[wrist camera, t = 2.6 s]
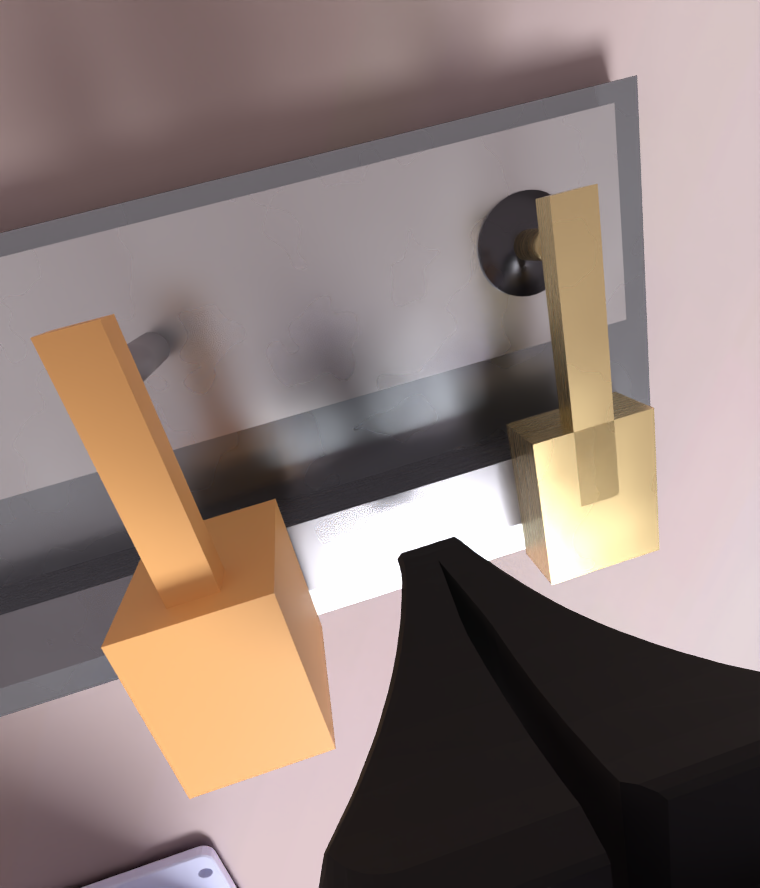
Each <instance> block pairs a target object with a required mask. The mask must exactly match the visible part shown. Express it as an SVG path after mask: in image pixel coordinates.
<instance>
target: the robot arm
mask: <svg viewBox="0 0 760 888" xmlns="http://www.w3.org/2000/svg"><path fill="white" fill-rule="evenodd" d="M397 561H398V564H399V568H400V572H401V581H402V602H401V621H400V629H399V637H398V645H397V652H396V658H395V663H394V668H393V673H392V677H391V682H390V686H389V690H388V694H387V698H386V701H385V705H384V708H383V712H382V715H381V719H380V722H379V725H378V728H377V732H376V735H375V738H374V740H373V743H372V746H371V748H370V751H369V754H368V756H367V759H366V761H365V764H364V767H363V769H362V772H361V774H360V777H359V779H358V782H357V785H356V787H355V789H354V792H353V794H352V796H351V798H350V801H349V803H348V805H347V807H346V809H345V811H344V813H343V815H342V817H341V819H340V821H339V824H338V826H337V828H336V830H335V832H334V834H333V836H332V838H331V840H330V842H329V844H328V847H327V849H326V851H325V853H324V858H323V864H322V870H321V877H320V884H319V888H760V672H758V671H754V670H749V669H744V668H740V667H735V666H731V665H726V664H722V663H718V662H715V661H711V660H708V659H704V658H700V657H697V656H693V655H690V654H686V653H682V652H679V651H676V650H673V649H669V648H666V647H663V646H660V645H657V644H654V643H651V642H648V641H645V640H643V639H640V638H637V637H634V636H631V635H629V634H626V633H623V632H620V631H618V630H615V629H613V628H610V627H608V626H605V625H603V624H600V623H598V622H596V621H594V620H591V619H589V618H587V617H585V616H582V615H580V614H578V613H576V612H574V611H571V610H569V609H567V608H565V607H564V606H562V605H560V604H558V603H556V602H554V601H552V600H550V599H549V598H547V597H545V596H543V595H541V594H540V593H538V592H536V591H534V590H533V589H531V588H529V587H528V586H526V585H524V584H523V583H521V582H520V581H518V580H516V579H515V578H513V577H512V576H510V575H509V574H507V573H505V572H504V571H502V570H501V569H499V568H498V567H496V566H495V565H493V564H492V563H491V562H489V561H488V560H486V559H485V558H484V557H482V556H481V555H479V554H478V553H477V552H475V551H474V550H473V549H471V548H470V547H469V546H467V545H466V544H465V543H463V542H462V541H461V540H460V539H458V538H456V537H451V538H447V539H444V540H441V541H438V542H435V543H431V544H428V545H425V546H422V547H419V548H415V549H412V550H409V551H406V552H403V553H401V554H400V555H399V557H398V558H397ZM81 888H237V887H236V886H235V884H234V882H233V880H232V879H231V877H230V875H229V874H228V872H227V870H226V869H225V867H224V865H223V864H222V862H221V860H220V858H219V857H218V855H217V853H216V852H215V850H214V849H213V848H212V847H209V846H198V847H195V848H192V849H190V850H187V851H184V852H181V853H178V854H175V855H172V856H170V857H167V858H164V859H161V860H158V861H155V862H152V863H150V864H147V865H144V866H141V867H138V868H135V869H132V870H130V871H127V872H124V873H121V874H118V875H115V876H113V877H110V878H107V879H104V880H101V881H98V882H95V883H93V884H90V885H87V886H84V887H81Z"/></svg>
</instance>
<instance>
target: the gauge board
mask: <svg viewBox="0 0 760 888" xmlns="http://www.w3.org/2000/svg"><path fill="white" fill-rule="evenodd" d="M112 314H114V315H115V317H116V320H117V322H118V324H119V327H120V329H121V331H122V334H123V336H124V338H125V341H126V343H127V344H128V343H130V342H131V341H133V340H135V339H136V338H138V337H139V336H141V335H143V334H144V333H148V332H155V333H158V334H160V335H162V336H163V337H164V338H165V339H166V340H167V341H168V343H169V346H170V353H169V356H168V358H167V359H166V360H165V361H164V362H163V363H162V364H161V365H160V366H159V367H158V368H157V369H156V370H155V371H154V372H153V373H152V374H151V375H150V376H149V377H148V378H147V379H146V380H145V381H144V385H145V387H146V389H147V392H148V394H149V396H150V398H151V401H152V403H153V405H154V408H155V410H156V412H157V415H158V417H159V419H160V422H161V424H162V426H163V429H164V431H165V433H166V436H167V438H168V440H169V442H170V445H171V447H172V449H173V452H174V454H175V456H176V459H177V461H178V463H179V466H180V468H181V470H182V473H183V475H184V477H185V479H186V482H187V484H188V486H189V489H190V491H191V493H192V496H193V498H194V500H195V503H196V505H197V507H198V510H199V512H200V514H201V517H202V519H203V520H206V519H210V518H213V517H216V516H220V515H223V514H226V513H230V512H233V511H236V510H240V509H243V508H246V507H250V506H253V505H256V504H259V503H263V502H266V501H269V500H273V499H276V502H277V504H278V507H279V510H280V513H281V515H282V518H283V521H284V524H285V526H286V529H287V532H288V535H289V538H290V540H291V543H292V546H293V549H294V551H295V554H296V557H297V560H298V562H299V565H300V568H301V571H302V573H303V576H304V579H305V582H306V584H307V587H308V590H309V593H310V595H311V598H312V601H313V604H314V606H315V609H316V612H317V615H319V614H323V613H326V612H329V611H332V610H335V609H338V608H341V607H344V606H347V605H351V604H354V603H357V602H360V601H363V600H366V599H369V598H372V597H376V596H379V595H382V594H385V593H388V592H391V591H394V590H397V589H401V588H402V581H401V572H400V568H399V564H398V561H397V558H398V557H399V555H400V554H401V553H403V552H406V551H409V550H412V549H415V548H419V547H422V546H425V545H428V544H431V543H435V542H438V541H441V540H444V539H447V538H451V537H456V538H458V539H460V540H461V541H462V542H463V543H465V544H466V545H467V546H469V547H470V548H471V549H473V550H474V551H475V552H477V553H478V554H479V555H481V556H482V557H484V558H485V559H486V560H491V559H494V558H497V557H500V556H503V555H507V554H510V553H513V552H516V551H519V550H522V549H525V548H526V554H527V555H528V556H529V557H530V558H531V560H532V561H533V562H534V563H535V565H536V566H537V567H538V568H539V570H540V571H541V572H542V573H543V574H544V576H545V577H546V578H547V579H548V581H549V582H550V583H551V584H552V585H553V584H556V583H559V582H562V581H565V580H568V579H571V578H574V577H577V576H580V575H584V574H587V573H590V572H593V571H596V570H599V569H602V568H605V567H608V566H611V565H614V564H617V563H620V562H623V561H626V560H629V559H632V558H635V557H638V556H641V555H645V554H648V553H651V552H654V551H657V550H659V531H658V504H657V477H656V450H655V423H654V408H653V407H651V406H650V388H649V363H648V338H647V313H646V288H645V263H644V238H643V213H642V188H641V163H640V138H639V113H638V88H637V75H636V76H632V77H628V78H624V79H620V80H616V81H612V82H608V83H604V84H600V85H596V86H592V87H588V88H584V89H580V90H576V91H572V92H568V93H564V94H560V95H556V96H552V97H548V98H543V99H539V100H535V101H531V102H527V103H523V104H519V105H515V106H511V107H507V108H503V109H499V110H495V111H491V112H487V113H483V114H479V115H475V116H471V117H467V118H463V119H459V120H455V121H451V122H447V123H443V124H439V125H435V126H430V127H426V128H422V129H418V130H414V131H410V132H406V133H402V134H398V135H394V136H390V137H386V138H382V139H378V140H374V141H370V142H366V143H362V144H358V145H354V146H350V147H346V148H342V149H338V150H334V151H330V152H326V153H322V154H317V155H313V156H309V157H305V158H301V159H297V160H293V161H289V162H285V163H281V164H277V165H273V166H269V167H265V168H261V169H257V170H253V171H249V172H245V173H241V174H237V175H233V176H229V177H225V178H221V179H217V180H213V181H209V182H204V183H200V184H196V185H192V186H188V187H184V188H180V189H176V190H172V191H168V192H164V193H160V194H156V195H152V196H148V197H144V198H140V199H136V200H132V201H128V202H124V203H120V204H116V205H112V206H108V207H104V208H100V209H96V210H91V211H87V212H83V213H79V214H75V215H71V216H67V217H63V218H59V219H55V220H51V221H47V222H43V223H39V224H35V225H31V226H27V227H23V228H19V229H15V230H11V231H7V232H3V233H0V717H1V716H4V715H7V714H11V713H14V712H17V711H20V710H23V709H26V708H29V707H32V706H36V705H39V704H42V703H45V702H48V701H51V700H54V699H57V698H60V697H64V696H67V695H70V694H73V693H76V692H79V691H82V690H85V689H89V688H92V687H95V686H98V685H101V684H104V683H107V682H110V681H114V680H117V679H119V678H118V676H117V674H116V673H115V671H114V669H113V667H112V666H111V664H110V662H109V661H108V659H107V657H106V655H105V654H104V652H103V650H102V649H101V646H102V644H103V642H104V640H105V637H106V635H107V633H108V631H109V628H110V626H111V624H112V622H113V620H114V617H115V615H116V613H117V611H118V608H119V606H120V604H121V602H122V599H123V597H124V595H125V593H126V590H127V588H128V586H129V584H130V581H131V579H132V577H133V575H134V573H135V570H136V568H137V566H138V564H139V561H140V559H141V558H140V556H139V554H138V552H137V550H136V548H135V546H134V544H133V542H132V540H131V538H130V536H129V534H128V532H127V530H126V528H125V526H124V524H123V522H122V520H121V518H120V516H119V514H118V512H117V510H116V508H115V506H114V504H113V502H112V500H111V498H110V496H109V494H108V492H107V490H106V488H105V486H104V484H103V482H102V480H101V478H100V476H99V474H98V472H97V470H96V468H95V466H94V464H93V462H92V460H91V458H90V456H89V454H88V452H87V450H86V448H85V446H84V444H83V442H82V440H81V438H80V436H79V434H78V432H77V430H76V428H75V426H74V424H73V422H72V420H71V418H70V416H69V414H68V412H67V410H66V408H65V406H64V404H63V402H62V400H61V398H60V396H59V394H58V392H57V390H56V388H55V386H54V384H53V382H52V380H51V378H50V376H49V374H48V372H47V370H46V369H45V367H44V365H43V363H42V361H41V359H40V357H39V355H38V353H37V351H36V349H35V347H34V345H33V343H32V341H31V339H30V338H31V337H34V336H37V335H40V334H42V333H45V332H48V331H51V330H55V329H59V328H62V327H66V326H70V325H74V324H78V323H81V322H85V321H89V320H93V319H96V318H100V317H104V316H108V315H112Z"/></svg>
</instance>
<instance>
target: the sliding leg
mask: <svg viewBox="0 0 760 888" xmlns="http://www.w3.org/2000/svg"><path fill="white" fill-rule="evenodd" d="M30 339H31V341H32V343H33V345H34V347H35V349H36V351H37V353H38V355H39V357H40V359H41V361H42V363H43V365H44V367H45V369H46V370H47V372H48V374H49V376H50V378H51V380H52V382H53V384H54V386H55V388H56V390H57V392H58V394H59V396H60V398H61V400H62V402H63V404H64V406H65V408H66V410H67V412H68V414H69V416H70V418H71V420H72V422H73V424H74V426H75V428H76V430H77V432H78V434H79V436H80V438H81V440H82V442H83V444H84V446H85V448H86V450H87V452H88V454H89V456H90V458H91V460H92V462H93V464H94V466H95V468H96V470H97V472H98V474H99V476H100V478H101V480H102V482H103V484H104V486H105V488H106V490H107V492H108V494H109V496H110V498H111V500H112V502H113V504H114V506H115V508H116V510H117V512H118V514H119V516H120V518H121V520H122V522H123V524H124V526H125V528H126V530H127V532H128V534H129V536H130V538H131V540H132V542H133V544H134V546H135V548H136V550H137V552H138V554H139V556H140V558H141V559H140V561H139V564H138V566H137V568H136V570H135V573H134V575H133V577H132V579H131V581H130V584H129V586H128V588H127V590H126V593H125V595H124V597H123V599H122V602H121V604H120V606H119V608H118V611H117V613H116V615H115V617H114V620H113V622H112V624H111V626H110V628H109V631H108V633H107V635H106V637H105V640H104V642H103V644H102V646H101V649H102V650H103V652H104V654H105V655H106V657H107V659H108V661H109V662H110V664H111V666H112V667H113V669H114V671H115V673H116V674H117V676H118V678H119V679H120V681H121V683H122V684H123V686H124V688H125V690H126V691H127V693H128V695H129V696H130V698H131V700H132V702H133V703H134V705H135V707H136V708H137V710H138V712H139V714H140V715H141V717H142V719H143V720H144V722H145V724H146V725H147V727H148V729H149V731H150V732H151V734H152V736H153V737H154V739H155V741H156V743H157V744H158V746H159V748H160V749H161V751H162V753H163V755H164V756H165V758H166V760H167V761H168V763H169V765H170V766H171V768H172V770H173V772H174V773H175V775H176V777H177V778H178V780H179V782H180V784H181V785H182V787H183V789H184V790H185V792H186V794H187V796H188V797H189V799H191V798H194V797H196V796H199V795H202V794H205V793H208V792H211V791H214V790H217V789H220V788H223V787H226V786H229V785H231V784H234V783H237V782H240V781H243V780H246V779H249V778H252V777H255V776H258V775H261V774H264V773H266V772H269V771H272V770H275V769H278V768H281V767H284V766H287V765H290V764H293V763H296V762H299V761H301V760H304V759H307V758H310V757H313V756H316V755H319V754H322V753H325V752H328V751H331V750H334V749H336V747H335V738H334V730H333V721H332V712H331V703H330V694H329V686H328V677H327V668H326V659H325V650H324V642H323V633H322V626H321V623H320V620H319V618H318V615H317V612H316V609H315V606H314V604H313V601H312V598H311V595H310V593H309V590H308V587H307V584H306V582H305V579H304V576H303V573H302V571H301V568H300V565H299V562H298V560H297V557H296V554H295V551H294V549H293V546H292V543H291V540H290V538H289V535H288V532H287V529H286V526H285V524H284V521H283V518H282V515H281V513H280V510H279V507H278V504H277V502H276V499H273V500H269V501H266V502H263V503H259V504H256V505H253V506H250V507H246V508H243V509H240V510H236V511H233V512H230V513H226V514H223V515H220V516H216V517H213V518H210V519H206V520H203V519H202V517H201V514H200V512H199V510H198V507H197V505H196V503H195V500H194V498H193V496H192V493H191V491H190V489H189V486H188V484H187V482H186V479H185V477H184V475H183V473H182V470H181V468H180V466H179V463H178V461H177V459H176V456H175V454H174V452H173V449H172V447H171V445H170V442H169V440H168V438H167V436H166V433H165V431H164V429H163V426H162V424H161V422H160V419H159V417H158V415H157V412H156V410H155V408H154V405H153V403H152V401H151V398H150V396H149V394H148V392H147V389H146V387H145V385H144V381H145V380H146V379H147V378H148V377H149V376H150V375H151V374H152V373H153V372H154V371H155V370H156V369H157V368H158V367H159V366H160V365H161V364H162V363H163V362H164V361H165V360H166V359H167V358H168V356H169V353H170V346H169V343H168V341H167V340H166V339H165V338H164V337H163V336H162V335H160V334H158V333H155V332H148V333H144V334H143V335H141V336H139V337H138V338H136V339H135V340H133V341H131V342H130V343H128V344H127V343H126V341H125V338H124V336H123V334H122V331H121V329H120V327H119V324H118V322H117V320H116V317H115V315H114V314H112V315H108V316H104V317H100V318H96V319H93V320H89V321H85V322H81V323H78V324H74V325H70V326H66V327H62V328H59V329H55V330H51V331H48V332H45V333H42V334H40V335H37V336H34V337H31V338H30Z"/></svg>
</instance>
